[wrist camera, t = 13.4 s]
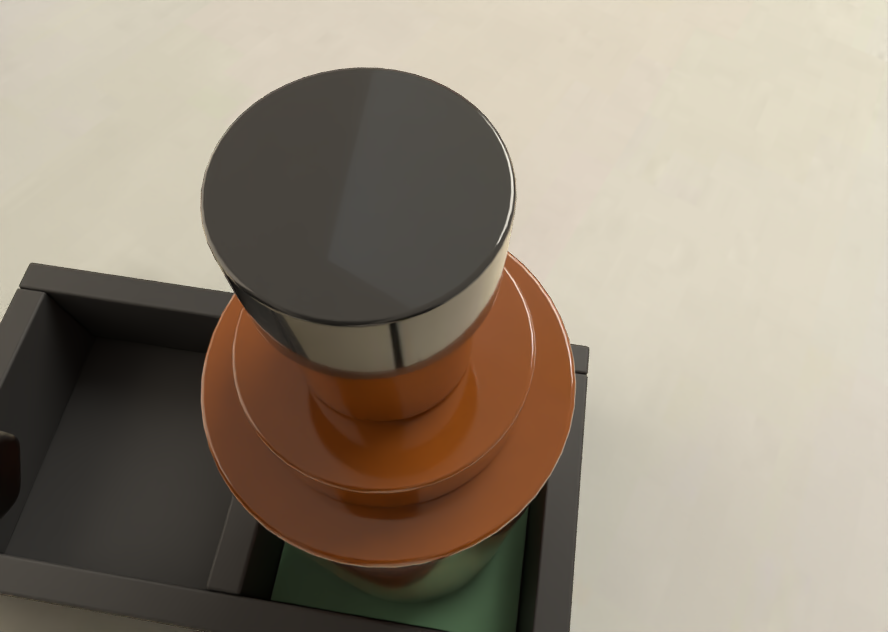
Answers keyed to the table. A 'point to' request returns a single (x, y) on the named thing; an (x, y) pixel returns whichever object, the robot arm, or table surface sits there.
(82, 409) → the compartment tray
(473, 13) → the table surface
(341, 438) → the bottle
